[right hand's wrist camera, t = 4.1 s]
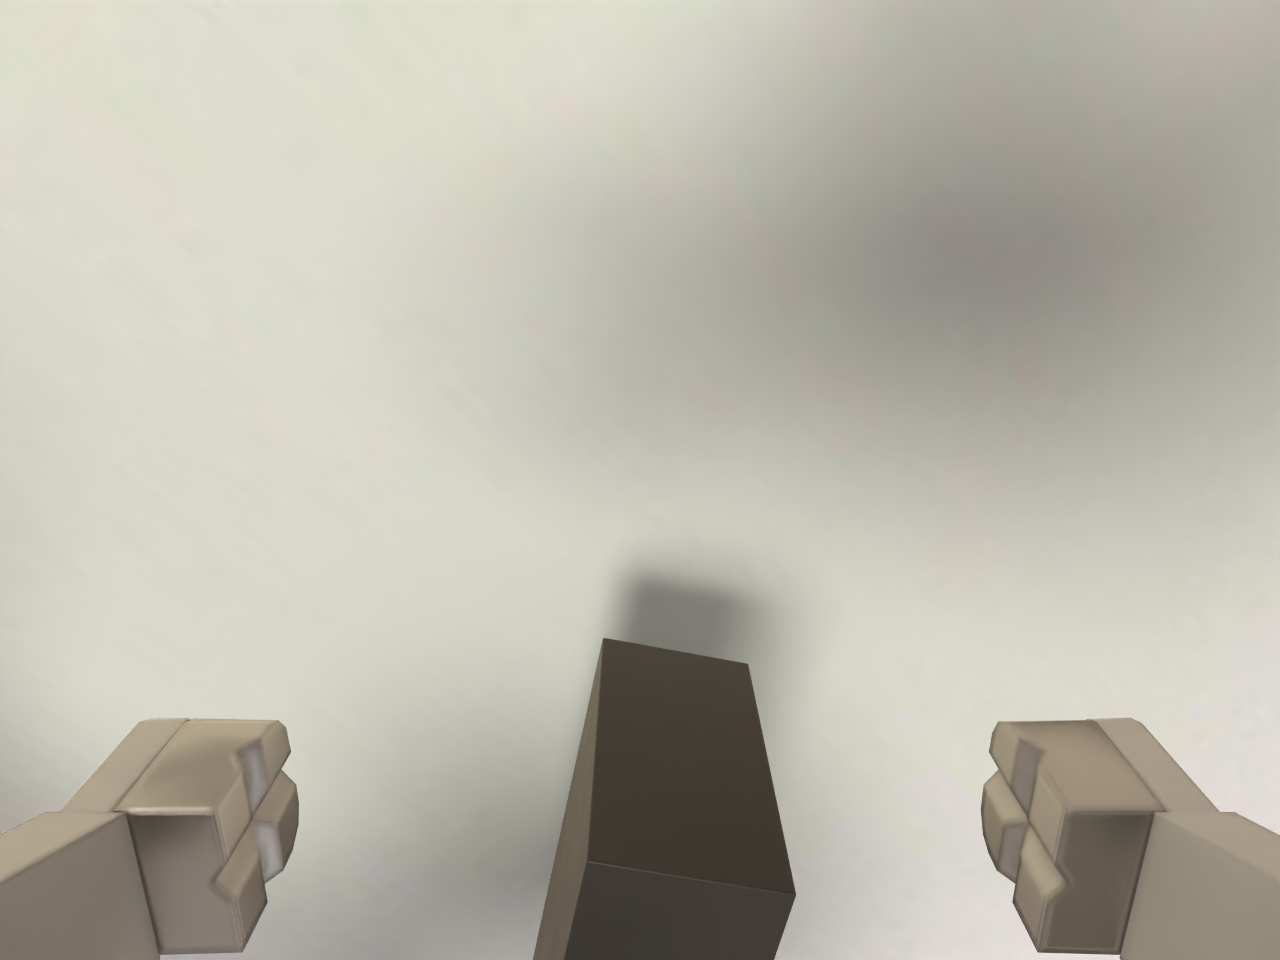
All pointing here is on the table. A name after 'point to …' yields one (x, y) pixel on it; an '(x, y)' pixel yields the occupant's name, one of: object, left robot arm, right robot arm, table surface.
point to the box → (668, 819)
